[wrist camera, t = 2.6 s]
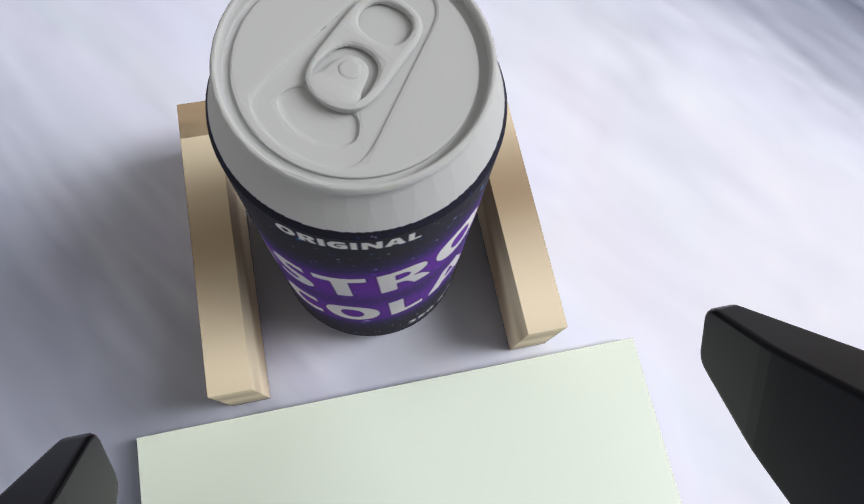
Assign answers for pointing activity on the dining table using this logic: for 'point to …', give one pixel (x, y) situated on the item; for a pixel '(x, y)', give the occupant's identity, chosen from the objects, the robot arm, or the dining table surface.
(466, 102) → the beverage can
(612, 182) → the dining table surface
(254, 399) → the frame
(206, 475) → the sage pad
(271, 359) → the dining table surface
